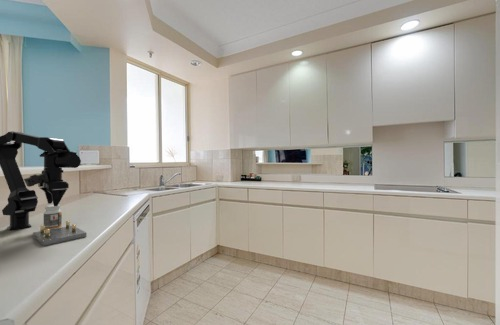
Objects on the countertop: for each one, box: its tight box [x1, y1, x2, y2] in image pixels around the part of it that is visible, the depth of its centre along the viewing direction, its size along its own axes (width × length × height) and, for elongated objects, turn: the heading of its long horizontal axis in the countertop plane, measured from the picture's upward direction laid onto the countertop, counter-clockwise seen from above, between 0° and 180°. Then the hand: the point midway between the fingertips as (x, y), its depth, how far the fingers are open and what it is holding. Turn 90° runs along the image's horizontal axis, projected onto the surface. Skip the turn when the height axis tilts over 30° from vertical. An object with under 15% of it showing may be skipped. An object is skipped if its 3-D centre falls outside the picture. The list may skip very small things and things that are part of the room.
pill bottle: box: [43, 204, 63, 230], centre depth 93 cm, size 6×6×10 cm
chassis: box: [32, 220, 87, 247], centre depth 83 cm, size 16×12×4 cm
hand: (52, 204), depth 93 cm, fingers open, 9 cm apart
